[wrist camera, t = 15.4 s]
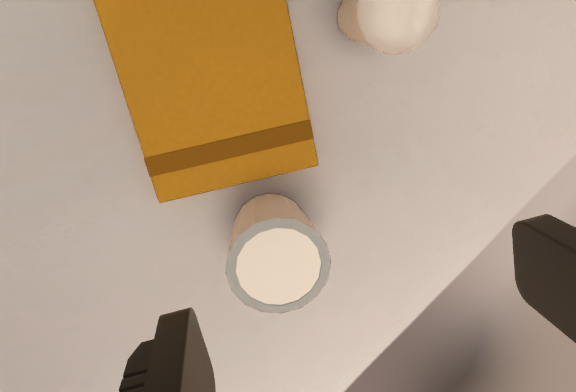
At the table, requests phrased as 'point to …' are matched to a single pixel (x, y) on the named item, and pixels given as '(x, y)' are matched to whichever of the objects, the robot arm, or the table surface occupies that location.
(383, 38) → the milkshake
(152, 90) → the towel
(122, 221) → the table surface
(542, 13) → the table surface
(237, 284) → the beige cup
